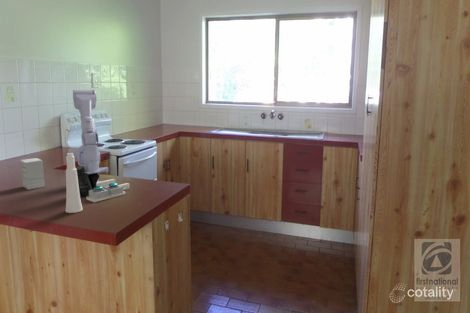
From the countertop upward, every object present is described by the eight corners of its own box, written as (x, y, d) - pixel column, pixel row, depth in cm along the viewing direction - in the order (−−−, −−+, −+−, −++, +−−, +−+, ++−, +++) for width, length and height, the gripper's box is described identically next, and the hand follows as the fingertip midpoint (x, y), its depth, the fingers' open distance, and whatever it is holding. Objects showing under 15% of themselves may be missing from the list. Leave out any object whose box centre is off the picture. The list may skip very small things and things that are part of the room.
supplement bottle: (95, 189, 164) (88, 164, 160) (90, 196, 158) (83, 170, 153) (80, 190, 164) (73, 165, 160) (74, 197, 158) (66, 172, 153)
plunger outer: (92, 195, 156) (92, 187, 155) (100, 193, 158) (99, 185, 158) (97, 197, 153) (96, 188, 153) (105, 195, 156) (104, 187, 155)
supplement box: (39, 183, 177) (37, 157, 175) (45, 186, 172) (42, 160, 169) (22, 186, 172) (19, 159, 170) (27, 190, 167) (24, 162, 164)
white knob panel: (71, 193, 163) (70, 185, 162) (113, 183, 179) (113, 176, 178) (94, 202, 151) (93, 194, 151) (137, 191, 167) (136, 183, 167)
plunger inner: (107, 192, 161) (107, 183, 160) (114, 190, 164) (114, 182, 163) (112, 193, 159) (111, 185, 158) (119, 191, 161) (119, 183, 161)
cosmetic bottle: (77, 206, 146) (73, 151, 142) (85, 210, 142) (82, 153, 138) (62, 210, 141) (57, 153, 137) (70, 214, 138) (65, 155, 133)
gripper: (80, 164, 153) (82, 196, 155) (111, 158, 164) (113, 188, 166) (71, 161, 157) (73, 192, 160) (102, 156, 168) (104, 185, 171)
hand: (93, 190), depth 163 cm, fingers closed, pressing on supplement bottle
